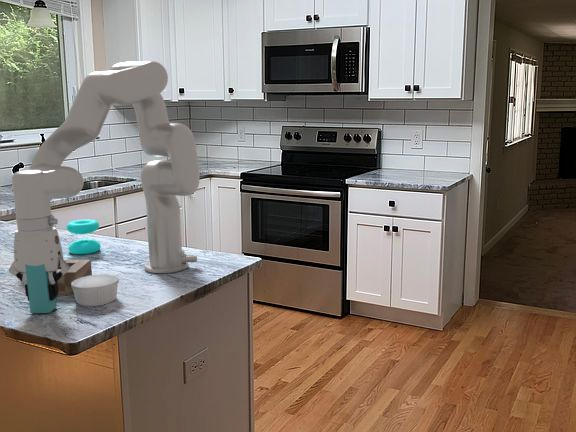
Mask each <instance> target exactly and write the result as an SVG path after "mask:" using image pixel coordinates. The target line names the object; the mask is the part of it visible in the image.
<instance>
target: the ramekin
mask: <svg viewBox="0 0 576 432" xmlns="http://www.w3.org/2000/svg"><path fill="white" fill-rule="evenodd" d="M119 282H120V281H119V278H118V276H117V275H114V274H105V273H103V274H92V275H90V276H85V277H82V278H79V279H76V280H74V281H73V282H72V283H71V287H72V289H73V292H74V295H73V296H74V298H75V302H76V303H77V304H78V305H80V306H83V307H99V305H100V306H105V305H108V304H110V302H111V303H112V302H114V301H115V300H116V298H117V296H118V288H119V287H118V285H119ZM104 304H105V305H104Z"/></svg>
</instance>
